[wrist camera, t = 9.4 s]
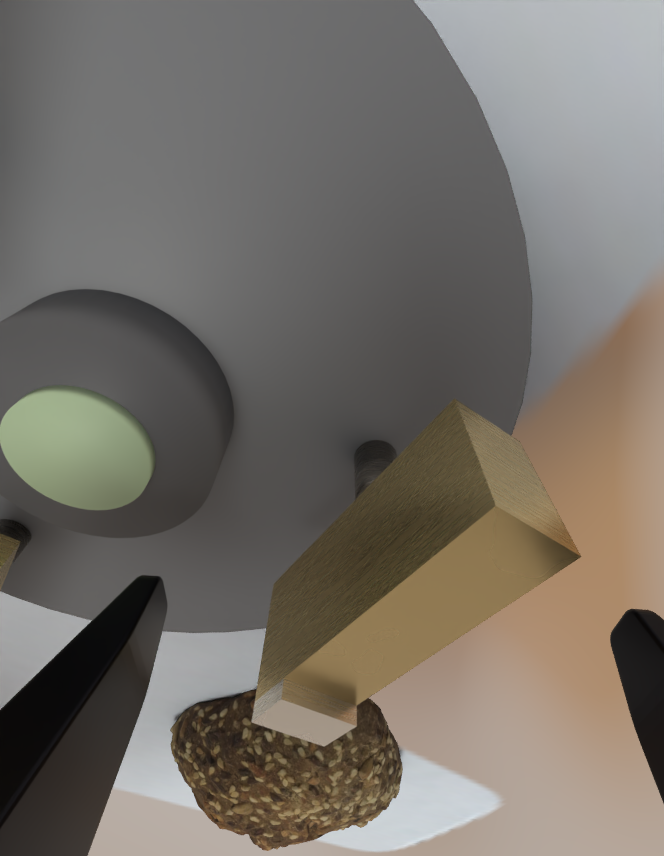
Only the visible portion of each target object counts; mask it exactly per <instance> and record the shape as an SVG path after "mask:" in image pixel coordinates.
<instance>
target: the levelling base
mask: <svg viewBox="0 0 664 856" xmlns="http://www.w3.org/2000/svg"><path fill="white" fill-rule="evenodd" d="M531 324H532V292H531V284H530V276H529V267H528V259H527V251H526V242H525V235H524V232H523V228H522V224H521V220H520V217H519V213H518V209H517V205H516V202H515V198H514V194H513V190H512V187H511V183H510V179H509V175H508V172H507V169H506V166H505V164H504V161H503V159H502V157H501V154H500V152H499V150H498V147H497V145H496V143H495V140H494V138H493V135H492V133H491V131H490V128H489V126H488V124H487V121H486V119H485V117H484V114H483V112H482V110H481V107H480V105H479V102H478V100H477V98H476V96H475V95H474V93H473V91H472V90H471V88H470V86H469V85H468V83H467V81H466V80H465V78H464V76H463V75H462V73H461V71H460V70H459V68H458V66H457V65H456V63H455V61H454V59H453V58H452V56H451V54H450V53H449V51H448V49H447V48H446V46H445V44H444V43H443V41H442V39H441V38H440V36H439V34H438V33H437V31H436V29H435V28H434V26H433V24H432V23H431V22H430V21H429V19H428V18H427V17H426V16H425V15H424V13H423V12H422V11H421V10H420V8H419V7H418V6H417V5H416V3H415V2H414V1H413V0H0V520H1V519H9V520H13V521H16V522H19V523H20V524H22V525H24V526H25V527H26V528H27V529H28V530H29V531H30V533H31V540H30V542H29V543H28V545H27V546H26V547H25V549H24V550H23V551H22V552H21V554H20V555H19V556H18V558H17V559H16V560H15V562H14V563H13V564H12V566H11V567H10V568H9V571H8V573H7V575H6V578H5V580H4V582H3V585H2V587H1V590H0V591H2V592H4V593H6V594H9V595H11V596H14V597H17V598H19V599H22V600H25V601H28V602H31V603H34V604H37V605H40V606H43V607H45V608H48V609H52V610H55V611H59V612H63V613H66V614H70V615H74V616H77V617H81V618H85V619H89V620H93V619H94V618H95V617H96V616H97V615H98V614H100V613H101V612H102V611H103V610H104V609H105V608H106V607H107V606H108V605H109V604H110V603H111V602H112V601H113V600H114V599H115V598H116V597H117V596H118V595H119V594H120V593H121V592H122V591H123V590H124V589H125V588H126V587H127V586H128V585H129V584H130V583H131V582H132V581H134V580H135V579H136V578H137V577H139V576H141V575H151V576H160V577H161V578H162V580H163V583H164V588H165V592H166V597H167V603H168V607H167V614H166V618H165V622H164V626H163V630H162V631H169V632H188V633H208V632H233V631H243V630H253V629H262V628H267V622H268V616H269V609H270V603H271V597H272V590H273V584H274V583H275V582H276V581H277V580H278V579H279V578H280V577H281V576H282V575H283V573H284V572H285V571H286V570H287V569H288V568H289V567H290V566H291V565H292V564H293V563H294V562H295V561H296V560H297V559H298V558H299V557H300V556H301V555H302V554H303V553H304V552H305V551H306V550H307V549H308V548H309V547H310V546H311V545H312V544H313V543H314V542H315V541H316V540H317V539H318V538H319V537H320V536H321V535H322V533H323V532H324V531H325V530H326V529H327V528H328V527H329V526H330V525H331V524H332V523H333V522H334V521H335V520H336V519H337V518H338V517H339V516H340V515H341V514H342V513H343V512H344V511H345V510H346V509H347V508H348V507H349V506H350V505H351V504H352V503H353V502H354V501H355V473H354V455H355V452H356V450H357V448H358V447H359V446H360V445H361V444H363V443H365V442H367V441H371V440H382V441H385V442H387V443H389V444H391V445H392V446H393V447H394V449H395V450H396V453H397V457H398V456H399V455H400V454H401V453H402V451H403V450H404V449H405V448H406V447H407V446H408V445H409V444H410V443H411V442H412V441H413V440H414V439H415V438H416V437H417V436H418V435H419V434H420V433H421V432H422V431H423V430H424V429H425V428H426V427H427V426H428V425H429V424H430V423H431V422H432V421H433V420H434V419H435V418H436V417H437V416H438V415H439V414H440V413H441V411H442V410H443V409H444V408H445V407H446V406H447V405H448V404H449V403H450V402H451V401H452V400H453V399H454V398H455V399H457V400H458V401H460V402H461V403H463V404H464V405H466V406H467V407H469V408H470V409H472V410H473V411H475V412H476V413H478V414H479V415H481V416H482V417H484V418H485V419H487V420H488V421H490V422H491V423H493V424H494V425H495V426H497V427H498V428H500V429H501V430H503V431H504V432H506V433H507V434H509V435H510V436H511V435H512V432H513V429H514V426H515V423H516V420H517V417H518V414H519V411H520V408H521V405H522V401H523V395H524V389H525V384H526V378H527V372H528V366H529V360H530V355H531Z"/></svg>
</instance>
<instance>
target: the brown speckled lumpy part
mask: <svg viewBox="0 0 664 856" xmlns="http://www.w3.org/2000/svg"><path fill="white" fill-rule="evenodd" d="M256 691H257V690H252V691H248V692H244V693H243V694H241V695H239V696H236V697H233V698H225V699H220V700H214V701H211V702H203V703H197V704H195V705H194V706H192V707H190V708H189V709H187V710H185V712H183V713H182V715H181V716H180V717H179V719H178V720H177V721H176V723H175V724H174V725H173V726H172V728H171V730H170V731H171V732H172V733H173V736H172V742H171V749H172V754H173V756H174V758H175V762H177V764H178V768H179V771H180V772H181V774H182V776H183V778H184V780H185V782H186V783H187V784H188V786H189V787H191V788H192V792H193V793H194V796H195V799H196V801H197V804H198V806H199V807H200V808H201V809H202V810H203V811H204V812H205V813H206V815H207V816H208V818H209V819H211V821H213V822H214V823H215V824H217V825H218V827H219V828H220V829H227V830H230V831H233V832H235V833H237V834H240V835H244V834H249V836H250V838H251V840H252V842H253V843H254V844H255V845H258V846H259V847H260V848H262V850H267V851H269V850H271V849H273V848H275V849H278V848H279V847H280V846H281V847H286V846H288V845H291V844H299V843H303V842H307V841H311V840H314V839H317V838H319V837H321V836H323V835H324V834H326V833H328V832H331V831H337V830H339V829H342V830H344V829H345V828H349V827H350V826H351V825H357V826H358V827H360V828H361V827H364V826H366V825H367V823H368V821H372V820H373V819H374V818H376V817H377V816H378V815H379V814H380V813H381V812H382V811H383V810H386V809H387V807H388V806H389V804H390V802H391V800H392V798H396V797H397V795H398V792H399V788H400V787H399V785H400V781H401V776H402V770H403V768H402V762H401V759H400V753H399V748H398V744H397V742H396V740H395V739H394V736H393V735H392V733H391V732H390V730H389V728H388V725H387V722H386V720H385V719H384V716H383V714H382V712H381V709H380V708H379V707H378V706H377V705H376V704H375V703H374V702H373V701H372V700H370V699H369V698H367V699H366V700H364V701H363V702H361V703H360V704H358V705H357V726H356V727H355V728H353V729H352V730H350V731H348V732H347V733H345V734H344V735H342V736H340V737H339V738H337V739H336V740H334V741H332V742H331V743H329V744H328V745H326V746H321V745H318V744H315V743H312V742H309V741H306V740H303V739H300V738H297V737H294V736H291V735H288V734H285V733H282V732H279V731H276V730H273V729H270V728H267V727H264V726H261V725H258V724H255V723H251V722H252V716H253V710H254V704H255V697H256Z"/></svg>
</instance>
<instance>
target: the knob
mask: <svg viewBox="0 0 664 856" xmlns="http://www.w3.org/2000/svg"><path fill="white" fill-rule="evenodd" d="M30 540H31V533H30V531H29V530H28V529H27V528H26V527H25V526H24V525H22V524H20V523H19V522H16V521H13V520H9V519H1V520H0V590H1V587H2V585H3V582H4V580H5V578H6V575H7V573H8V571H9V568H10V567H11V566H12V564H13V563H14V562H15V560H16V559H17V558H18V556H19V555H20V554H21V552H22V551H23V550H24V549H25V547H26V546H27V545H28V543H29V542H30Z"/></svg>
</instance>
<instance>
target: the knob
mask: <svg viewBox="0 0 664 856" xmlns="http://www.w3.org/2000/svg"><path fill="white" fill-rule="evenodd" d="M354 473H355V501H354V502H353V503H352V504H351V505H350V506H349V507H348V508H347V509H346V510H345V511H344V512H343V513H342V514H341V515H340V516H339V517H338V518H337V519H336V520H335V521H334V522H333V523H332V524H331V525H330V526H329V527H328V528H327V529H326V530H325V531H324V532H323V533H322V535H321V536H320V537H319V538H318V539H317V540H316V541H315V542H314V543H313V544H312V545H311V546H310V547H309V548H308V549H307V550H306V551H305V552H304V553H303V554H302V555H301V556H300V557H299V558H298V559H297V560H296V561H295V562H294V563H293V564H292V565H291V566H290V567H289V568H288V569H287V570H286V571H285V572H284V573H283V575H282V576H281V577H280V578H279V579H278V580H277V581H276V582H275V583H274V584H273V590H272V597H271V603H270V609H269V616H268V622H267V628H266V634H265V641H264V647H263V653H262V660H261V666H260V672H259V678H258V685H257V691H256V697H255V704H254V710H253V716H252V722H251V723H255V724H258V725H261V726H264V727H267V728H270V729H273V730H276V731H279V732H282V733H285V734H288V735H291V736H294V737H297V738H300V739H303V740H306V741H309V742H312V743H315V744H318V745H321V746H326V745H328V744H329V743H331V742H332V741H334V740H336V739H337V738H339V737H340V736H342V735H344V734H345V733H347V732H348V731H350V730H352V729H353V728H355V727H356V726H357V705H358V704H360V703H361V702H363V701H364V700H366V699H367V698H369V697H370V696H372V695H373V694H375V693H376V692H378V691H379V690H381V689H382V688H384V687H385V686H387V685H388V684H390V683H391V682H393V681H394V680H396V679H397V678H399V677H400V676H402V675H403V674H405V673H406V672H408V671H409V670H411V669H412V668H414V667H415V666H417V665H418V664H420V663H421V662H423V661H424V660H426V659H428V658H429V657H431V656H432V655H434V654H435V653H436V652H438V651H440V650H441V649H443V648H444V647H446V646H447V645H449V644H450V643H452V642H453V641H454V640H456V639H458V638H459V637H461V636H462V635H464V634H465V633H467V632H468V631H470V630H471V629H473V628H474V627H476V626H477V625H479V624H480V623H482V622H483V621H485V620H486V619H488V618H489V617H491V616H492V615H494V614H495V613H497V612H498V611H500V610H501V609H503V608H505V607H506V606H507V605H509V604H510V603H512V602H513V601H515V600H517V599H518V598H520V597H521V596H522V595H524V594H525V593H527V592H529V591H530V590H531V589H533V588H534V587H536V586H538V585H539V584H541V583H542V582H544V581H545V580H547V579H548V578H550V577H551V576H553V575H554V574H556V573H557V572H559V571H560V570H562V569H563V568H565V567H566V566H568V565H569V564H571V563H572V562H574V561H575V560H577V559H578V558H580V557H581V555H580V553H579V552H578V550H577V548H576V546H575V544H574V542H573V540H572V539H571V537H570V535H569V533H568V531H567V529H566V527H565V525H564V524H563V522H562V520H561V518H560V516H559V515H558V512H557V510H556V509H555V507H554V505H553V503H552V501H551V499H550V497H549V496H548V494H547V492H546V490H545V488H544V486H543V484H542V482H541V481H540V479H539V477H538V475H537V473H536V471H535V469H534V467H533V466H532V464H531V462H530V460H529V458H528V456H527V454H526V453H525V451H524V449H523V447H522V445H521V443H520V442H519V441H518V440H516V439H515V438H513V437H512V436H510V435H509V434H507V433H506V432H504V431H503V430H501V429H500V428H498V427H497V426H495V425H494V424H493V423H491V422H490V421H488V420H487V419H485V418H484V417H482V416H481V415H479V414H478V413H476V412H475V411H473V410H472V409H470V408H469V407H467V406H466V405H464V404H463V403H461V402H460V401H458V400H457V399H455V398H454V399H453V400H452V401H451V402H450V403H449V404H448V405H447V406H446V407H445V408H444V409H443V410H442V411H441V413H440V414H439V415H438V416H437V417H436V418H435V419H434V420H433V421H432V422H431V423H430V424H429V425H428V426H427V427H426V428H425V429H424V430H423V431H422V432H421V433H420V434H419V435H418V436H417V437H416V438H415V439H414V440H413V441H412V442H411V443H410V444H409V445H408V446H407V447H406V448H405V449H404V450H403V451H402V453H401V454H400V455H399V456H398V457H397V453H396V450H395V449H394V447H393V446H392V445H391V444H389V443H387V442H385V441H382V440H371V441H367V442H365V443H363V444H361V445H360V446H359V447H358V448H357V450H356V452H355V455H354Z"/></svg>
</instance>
